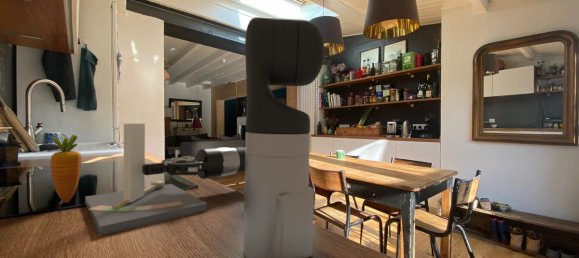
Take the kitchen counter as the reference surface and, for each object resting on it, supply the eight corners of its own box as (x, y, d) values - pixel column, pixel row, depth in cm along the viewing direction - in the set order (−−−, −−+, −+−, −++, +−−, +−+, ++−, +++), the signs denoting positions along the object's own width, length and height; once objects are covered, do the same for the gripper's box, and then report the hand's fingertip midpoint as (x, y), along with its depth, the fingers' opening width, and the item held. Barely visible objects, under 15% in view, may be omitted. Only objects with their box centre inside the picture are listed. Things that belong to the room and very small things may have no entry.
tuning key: (122, 209, 47) (122, 123, 46) (105, 209, 47) (105, 123, 46) (166, 185, 65) (166, 123, 64) (154, 185, 65) (155, 123, 64)
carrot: (44, 206, 53) (43, 135, 52) (64, 199, 58) (64, 134, 57) (68, 206, 53) (68, 135, 52) (86, 199, 58) (86, 134, 57)
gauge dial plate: (206, 210, 52) (206, 202, 52) (96, 236, 40) (96, 226, 40) (171, 189, 68) (171, 183, 68) (82, 203, 55) (82, 196, 55)
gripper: (206, 145, 70) (135, 149, 58) (231, 150, 61) (152, 155, 48) (206, 172, 70) (135, 181, 58) (231, 181, 61) (152, 194, 49)
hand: (143, 169), depth 53 cm, fingers closed
